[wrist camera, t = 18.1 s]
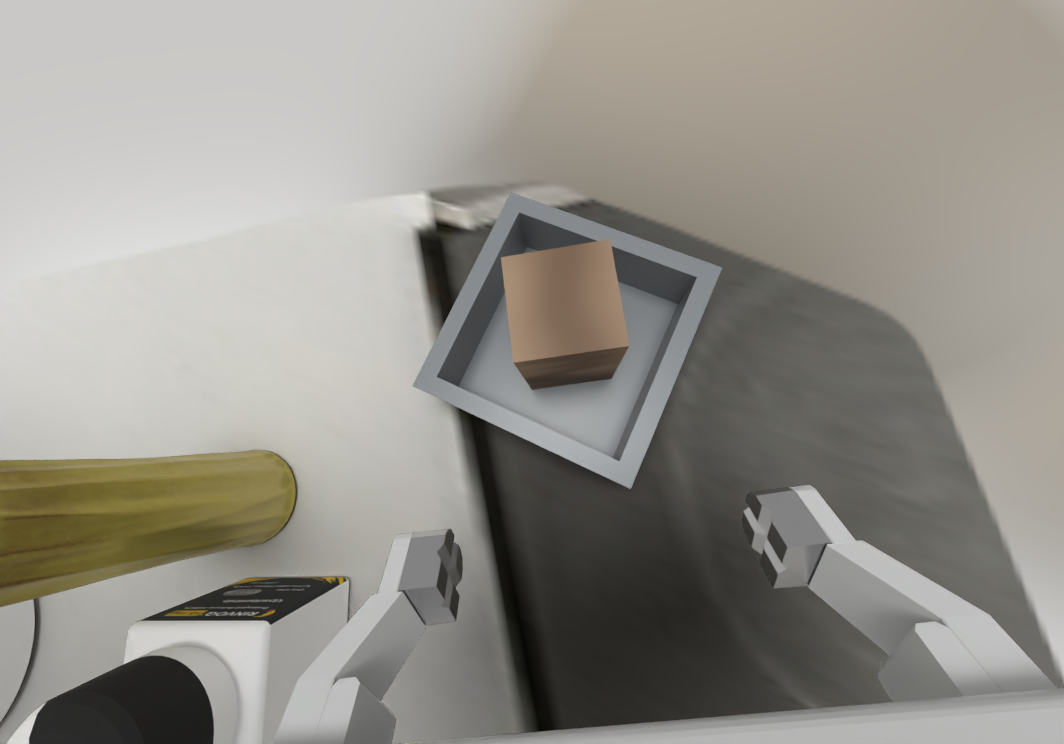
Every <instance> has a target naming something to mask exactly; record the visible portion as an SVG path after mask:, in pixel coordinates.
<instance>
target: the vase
mask: <svg viewBox="0 0 1064 744" xmlns="http://www.w3.org/2000/svg"><path fill="white" fill-rule="evenodd" d="M295 496H296V486H295V481H294V477H293V474H292V472H291V470H290V468H289V466H288V465H287V464H286V463H285V462H284V461H283V460H282V459H281V458H280V457H278V456H277V455H275V454H273V453H271V452H268V451H264V450H251V451H245V452H234V453H212V454H197V455H185V456H171V457H156V458H135V459H75V460H2V461H0V607H4V606H8V605H12V604H16V603H20V602H24V601H28V600H32V599H35V598H39V597H43V596H46V595H50V594H54V593H58V592H61V591H65V590H69V589H73V588H76V587H80V586H84V585H88V584H91V583H95V582H98V581H102V580H106V579H109V578H113V577H117V576H121V575H125V574H129V573H134V572H138V571H142V570H145V569H149V568H153V567H157V566H161V565H164V564H168V563H172V562H176V561H180V560H184V559H189V558H194V557H198V556H203V555H207V554H211V553H215V552H219V551H223V550H227V549H231V548H236V547H245V546H253V545H257V544H260V543H263V542H265V541H267V540H269V539H270V538H272V537H273V536H275V535H276V534H277V533H278V532H279V531H280V530H281V529H282V527H283V526H284V525H285V523H286V522H287V520H288V519H289V517H290V515H291V512H292V510H293V507H294V502H295Z"/></svg>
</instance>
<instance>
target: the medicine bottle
mask: <svg viewBox="0 0 1064 744" xmlns="http://www.w3.org/2000/svg"><path fill="white" fill-rule="evenodd" d="M348 595H349V580H348V579H347V578H346V577H305V578H247V579H244V580H241V581H239V582H236V583H234V584H231V585H228V586H226V587H223V588H221V589H218V590H216V591H213V592H211V593H208V594H206V595H203V596H201V597H198V598H196V599H193V600H191V601H188V602H185V603H183V604H180V605H178V606H175V607H173V608H170V609H168V610H165V611H163V612H160V613H158V614H155V615H153V616H150V617H148V618H145V619H142V620H140V621H137V622H135V623H134V624H133V625H131V627H130V628H129V630H128V634H127V641H126V648H125V655H124V661H123V665H121V666H119V667H117V668H115V669H113V670H111V671H109V672H107V673H105V674H103V675H101V676H98V677H96V678H94V679H92V680H90V681H88V682H86V683H84V684H82V685H80V686H78V687H76V688H73V689H71V690H69V691H67V692H65V693H63V694H61V695H59V696H57V697H55V698H53V699H51V700H49V701H47V702H46V703H44V704H43V705H41V706H40V707H38V708H37V709H36V710H35V711H34V712H33V713H31V714H30V715H29V716H28V717H27V718H26V719H25V720H24V722H23V723H22V724H21V725H20V726H19V727H18V729H17V730H16V731H15V733H14V734H13V735H12V737H11V738H10V739H9V741H8V742H7V744H272V743H273V741H274V738H275V736H276V733H277V731H278V728H279V726H280V723H281V721H282V718H283V716H284V713H285V710H286V708H287V705H288V703H289V700H290V698H291V695H292V693H293V690H294V688H295V685H296V683H297V680H298V679H299V678H300V677H301V676H302V675H303V673H304V672H305V671H306V670H307V669H308V668H309V667H310V665H311V664H312V663H313V662H314V661H315V660H316V658H317V657H318V656H319V655H320V654H321V653H322V652H323V650H324V649H325V648H326V647H327V646H328V645H329V644H330V642H331V641H332V640H333V639H334V638H335V637H336V635H337V634H338V633H339V632H340V631H341V630H342V629H343V627H344V626H345V625H346V624H347V617H348Z"/></svg>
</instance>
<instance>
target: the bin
mask: <svg viewBox="0 0 1064 744" xmlns="http://www.w3.org/2000/svg"><path fill="white" fill-rule="evenodd" d="M608 239H610V241H611V246H612V252H613V257H614V263H615V268H616V274H617V280H618V285H619V291H620V296H621V302H622V307H623V313H624V318H625V324H626V329H627V335H628V340H629V348H628V350H627V351H626V353H625V355H624V357H623V359H622V361H621V362H620V364H619V366H618V368H617V370H616V372H615V373H614V375H613V377H612V379H606V380H599V381H592V382H585V383H578V384H570V385H563V386H556V387H549V388H542V389H535V390H532V389H531V388H530V386H529V385H528V383H527V382H526V380H525V379H524V377H523V376H522V375H521V373H520V372H519V370H518V369H517V367H516V366H515V364H514V363H513V356H512V347H511V339H510V330H509V322H508V313H507V305H506V296H505V288H504V279H503V271H502V262H501V257H506V256H512V255H518V254H524V253H530V252H536V251H542V250H548V249H554V248H560V247H566V246H572V245H578V244H584V243H590V242H596V241H602V240H608ZM721 269H722V267H719V266H716V265H713V264H711V263H708V262H705V261H702V260H699V259H696V258H694V257H691V256H688V255H685V254H682V253H680V252H677V251H674V250H671V249H668V248H666V247H663V246H660V245H657V244H654V243H652V242H649V241H646V240H643V239H640V238H638V237H635V236H632V235H629V234H626V233H624V232H621V231H618V230H615V229H612V228H609V227H607V226H604V225H601V224H598V223H595V222H593V221H590V220H587V219H584V218H581V217H579V216H576V215H573V214H570V213H567V212H565V211H562V210H559V209H556V208H553V207H551V206H548V205H545V204H542V203H539V202H536V201H534V200H531V199H528V198H525V197H522V196H520V195H517V194H514V193H510V195H509V197H508V199H507V201H506V203H505V205H504V207H503V209H502V211H501V213H500V215H499V217H498V219H497V221H496V223H495V225H494V227H493V229H492V231H491V233H490V235H489V237H488V239H487V241H486V243H485V245H484V247H483V248H482V250H481V252H480V254H479V256H478V258H477V260H476V262H475V264H474V266H473V268H472V270H471V272H470V274H469V276H468V278H467V280H466V282H465V284H464V286H463V288H462V290H461V292H460V294H459V296H458V298H457V300H456V302H455V304H454V306H453V307H452V309H451V311H450V313H449V315H448V317H447V319H446V321H445V323H444V325H443V327H442V329H441V331H440V333H439V335H438V337H437V339H436V341H435V343H434V345H433V347H432V349H431V351H430V353H429V355H428V357H427V359H426V361H425V363H424V365H423V366H422V368H421V370H420V372H419V374H418V376H417V378H416V380H415V382H414V384H413V386H414V387H416V388H418V389H420V390H422V391H424V392H426V393H428V394H431V395H433V396H435V397H437V398H439V399H441V400H443V401H445V402H447V403H450V404H452V405H454V406H456V407H458V408H460V409H462V410H464V411H466V412H469V413H471V414H473V415H475V416H477V417H479V418H481V419H483V420H486V421H488V422H490V423H492V424H494V425H496V426H498V427H500V428H502V429H505V430H507V431H509V432H511V433H513V434H515V435H517V436H519V437H521V438H524V439H526V440H528V441H530V442H532V443H534V444H536V445H538V446H540V447H543V448H545V449H547V450H549V451H551V452H553V453H555V454H557V455H560V456H562V457H564V458H566V459H568V460H570V461H572V462H574V463H576V464H579V465H581V466H583V467H585V468H587V469H589V470H591V471H593V472H595V473H598V474H600V475H602V476H604V477H606V478H608V479H610V480H612V481H614V482H617V483H619V484H621V485H623V486H625V487H627V488H629V489H631V487H632V485H633V482H634V480H635V478H636V475H637V473H638V470H639V468H640V465H641V463H642V461H643V458H644V456H645V453H646V451H647V449H648V446H649V444H650V441H651V439H652V436H653V434H654V432H655V429H656V427H657V424H658V422H659V419H660V417H661V415H662V412H663V410H664V407H665V405H666V402H667V400H668V398H669V395H670V393H671V390H672V388H673V385H674V383H675V381H676V378H677V376H678V373H679V371H680V368H681V366H682V364H683V361H684V359H685V356H686V354H687V352H688V349H689V347H690V344H691V342H692V339H693V337H694V335H695V332H696V330H697V327H698V325H699V322H700V320H701V318H702V315H703V313H704V310H705V308H706V305H707V303H708V301H709V298H710V296H711V293H712V291H713V288H714V286H715V284H716V281H717V279H718V276H719V274H720V272H721Z"/></svg>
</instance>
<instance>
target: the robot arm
mask: <svg viewBox="0 0 1064 744" xmlns="http://www.w3.org/2000/svg"><path fill="white" fill-rule="evenodd" d="M746 502H747V504H748V506H749V507H748V508H747V509H746V510H745V511H743V517H742V522H743V528H744V532H745V535H746V537H747V539H748V541H749V543H750V545H751V547H752V548H753V549H755V550H756V551H758V552H759V553H760V554H762V556H761V560H760V564H761V566H762V568H763V570H764V572H765V574H766V576H767V577H768V579H769V581H770V583H771V585H772V587H773V588H785V587H798V586H809V587H808V588H809V589H811V590H812V591H813V592H814V593H815V594H817V595H818V596H819V597H820V598H821V599H823V600H824V601H825V602H826V603H827V604H828V605H830V606H831V607H832V608H833V609H834V610H836V611H837V612H838V613H839V614H840V615H842V616H843V617H844V618H845V619H846V620H848V621H849V622H850V623H851V624H852V625H854V626H855V627H856V628H857V629H858V630H860V631H861V632H862V633H863V634H864V635H866V636H867V637H868V638H869V639H870V640H872V641H873V642H874V643H875V644H876V645H878V646H879V647H880V648H881V649H882V650H883V651H885V652H886V653H887V654H888V655H889V656H890V657H889V658H888V659H887V661H886V662H885V663H884V664H883V666H882V667H881V668H880V669H879V672H878V675H877V678H878V679H879V681H880V682H881V684H882V686H883V687H884V689H885V690H886V692H887V694H888V695H889V697H890V699H891V700H892V702H887V703H876V704H864V705H852V706H840V707H828V708H816V709H804V710H792V711H780V712H768V713H756V714H744V715H732V716H720V717H708V718H696V719H684V720H672V721H660V722H648V723H636V724H624V725H612V726H600V727H588V728H576V729H564V730H553V731H541V732H529V733H517V734H505V735H493V736H481V737H469V738H457V739H445V740H433V741H421V742H409V743H397V744H1064V688H1057V687H1056V686H1055V685H1054V684H1053V683H1052V682H1051V681H1050V680H1049V679H1048V678H1047V677H1046V676H1045V674H1044V673H1043V672H1042V671H1041V670H1040V669H1039V668H1038V667H1037V666H1036V665H1035V664H1034V663H1033V662H1032V660H1031V659H1030V658H1029V657H1028V656H1027V655H1026V654H1025V653H1024V652H1023V651H1022V650H1021V649H1020V647H1019V646H1018V645H1017V644H1016V643H1015V642H1014V641H1013V640H1012V639H1011V638H1010V637H1009V636H1008V635H1007V633H1006V632H1005V631H1004V630H1003V629H1002V628H1001V627H1000V626H999V625H998V624H997V623H996V622H995V620H994V619H993V618H992V617H991V616H990V615H989V614H987V613H985V612H984V611H982V610H980V609H978V608H977V607H975V606H973V605H972V604H970V603H968V602H967V601H965V600H963V599H961V598H960V597H958V596H956V595H955V594H953V593H951V592H950V591H948V590H946V589H944V588H943V587H941V586H939V585H938V584H936V583H934V582H932V581H931V580H929V579H927V578H926V577H924V576H922V575H921V574H919V573H917V572H915V571H914V570H912V569H910V568H909V567H907V566H905V565H903V564H902V563H900V562H898V561H897V560H895V559H893V558H892V557H890V556H888V555H886V554H885V553H883V552H881V551H880V550H878V549H876V548H875V547H873V546H871V545H869V544H868V543H866V542H864V541H863V540H861V541H856V540H855V539H854V538H853V536H852V535H851V534H850V533H849V531H848V530H847V529H846V527H845V526H844V525H843V524H842V522H841V521H840V520H839V519H838V517H837V516H836V515H835V513H834V512H833V511H832V510H831V508H830V507H829V506H828V505H827V503H826V502H825V501H824V500H823V498H822V497H821V496H820V494H819V493H818V492H817V491H816V489H815V488H813V487H812V486H810V485H803V486H796V487H789V488H788V487H784V488H776V489H769V490H762V491H755V492H750V493H749V494H747V498H746ZM453 541H454V534H453V532H452V530H451V529H444V530H434V531H425V532H414V533H405V534H397V536H396V537H395V539H394V540H393V543H392V546H391V549H390V553H389V556H388V559H387V563H386V566H385V569H384V573H383V576H382V579H381V583H380V586H379V590H378V593H377V594H372V595H371V596H370V597H369V599H368V600H367V601H366V602H365V603H364V604H363V606H362V607H361V608H360V609H359V610H358V611H357V612H356V614H355V615H354V616H353V617H352V618H351V619H350V620H349V622H348V623H347V624H346V625H345V626H344V627H343V629H342V630H341V631H340V632H339V633H338V634H337V635H336V637H335V638H334V639H333V640H332V641H331V642H330V644H329V645H328V646H327V647H326V648H325V649H324V650H323V652H322V653H321V654H320V655H319V656H318V657H317V658H316V660H315V661H314V662H313V663H312V664H311V665H310V667H309V668H308V669H307V670H306V671H305V672H304V673H303V675H302V676H301V677H300V678H299V679H298V680H297V683H296V685H295V688H294V690H293V693H292V695H291V698H290V700H289V703H288V705H287V708H286V710H285V713H284V716H283V718H282V721H281V723H280V726H279V728H278V731H277V733H276V736H275V738H274V741H273V743H272V744H392V739H393V734H394V729H395V724H396V718H395V716H394V714H393V713H392V712H391V711H390V710H389V709H388V708H387V707H386V706H385V705H384V704H383V703H382V702H381V699H382V698H383V696H384V694H385V693H386V691H387V690H388V688H389V686H390V685H391V683H392V682H393V680H394V678H395V677H396V675H397V673H398V672H399V670H400V669H401V667H402V665H403V664H404V662H405V661H406V659H407V657H408V656H409V654H410V652H411V651H412V649H413V648H414V646H415V644H416V643H417V641H418V640H419V638H420V636H421V635H422V633H423V631H424V630H425V628H426V627H425V626H426V625H433V624H440V623H448V622H455V621H456V618H457V610H458V603H459V594H458V592H457V590H456V588H455V587H456V586H457V585H458V583H459V582H460V581H461V579H462V570H463V564H462V554H461V550H460V547H459V545H458V544H456V543H454V542H453ZM34 627H35V613H34V601H33V599H32V600H28V601H24V602H20V603H16V604H12V605H8V606H4V607H0V722H1V720H2V719H3V717H4V716H5V714H6V713H7V711H8V709H9V708H10V706H11V704H12V702H13V701H14V699H15V697H16V695H17V693H18V690H19V688H20V686H21V683H22V681H23V678H24V676H25V673H26V670H27V666H28V663H29V659H30V655H31V650H32V645H33V638H34Z"/></svg>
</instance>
